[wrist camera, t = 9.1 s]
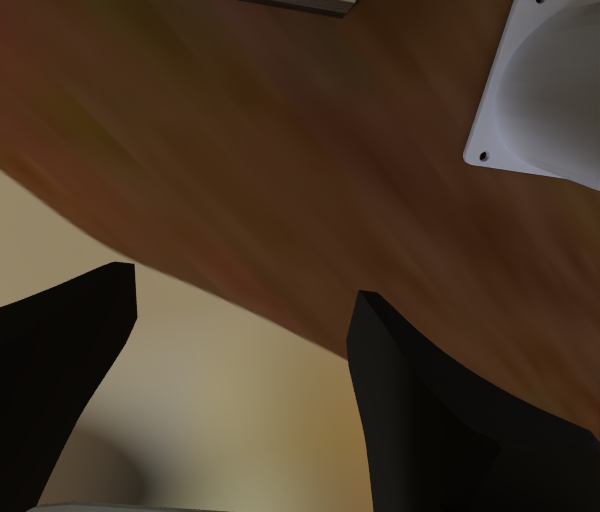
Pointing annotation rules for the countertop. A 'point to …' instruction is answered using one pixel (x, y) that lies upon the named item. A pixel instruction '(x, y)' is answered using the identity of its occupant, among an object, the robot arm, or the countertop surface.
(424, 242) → the countertop surface
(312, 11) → the mount socket
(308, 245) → the countertop surface
